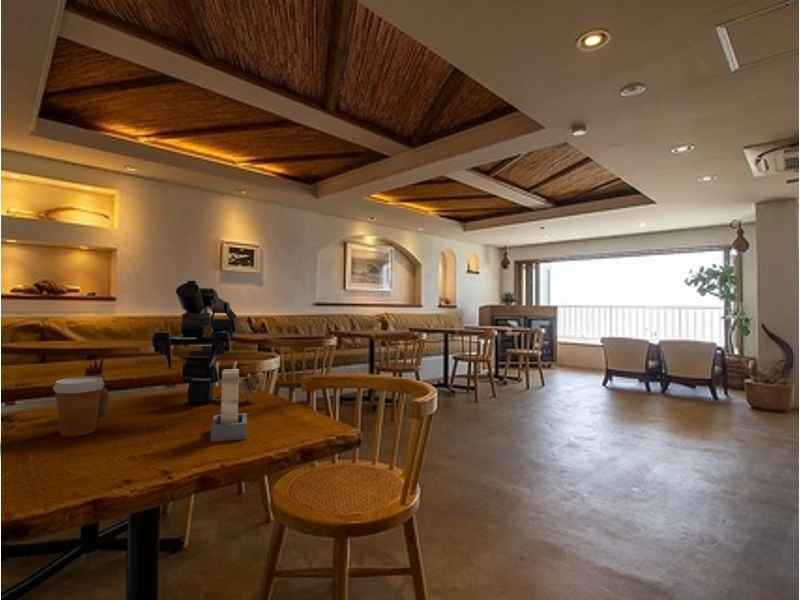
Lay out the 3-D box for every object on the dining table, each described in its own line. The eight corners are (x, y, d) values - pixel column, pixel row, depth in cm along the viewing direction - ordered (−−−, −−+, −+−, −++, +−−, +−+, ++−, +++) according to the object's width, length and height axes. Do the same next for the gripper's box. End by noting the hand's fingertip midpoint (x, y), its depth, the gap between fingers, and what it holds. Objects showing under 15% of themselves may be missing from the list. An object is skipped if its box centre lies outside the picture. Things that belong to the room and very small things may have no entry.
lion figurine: (266, 399, 135) (267, 371, 135) (262, 403, 130) (263, 374, 130) (218, 399, 134) (219, 370, 134) (212, 403, 128) (213, 373, 128)
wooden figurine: (113, 413, 114) (114, 357, 114) (95, 419, 108) (97, 360, 108) (89, 412, 115) (91, 356, 115) (71, 418, 109) (72, 359, 109)
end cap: (213, 429, 103) (213, 415, 103) (246, 427, 106) (246, 413, 106) (210, 441, 95) (210, 425, 95) (246, 439, 97) (246, 423, 97)
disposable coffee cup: (62, 441, 92) (63, 386, 92) (44, 433, 97) (45, 380, 97) (110, 430, 100) (112, 379, 100) (92, 423, 105) (93, 374, 105)
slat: (221, 428, 102) (223, 369, 102) (237, 427, 103) (239, 369, 103) (220, 434, 97) (222, 373, 97) (236, 433, 98) (238, 372, 98)
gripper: (154, 301, 112) (144, 348, 102) (230, 303, 119) (228, 347, 108) (159, 329, 120) (149, 375, 109) (230, 329, 126) (228, 373, 116)
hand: (189, 367), depth 110 cm, fingers open, 9 cm apart
